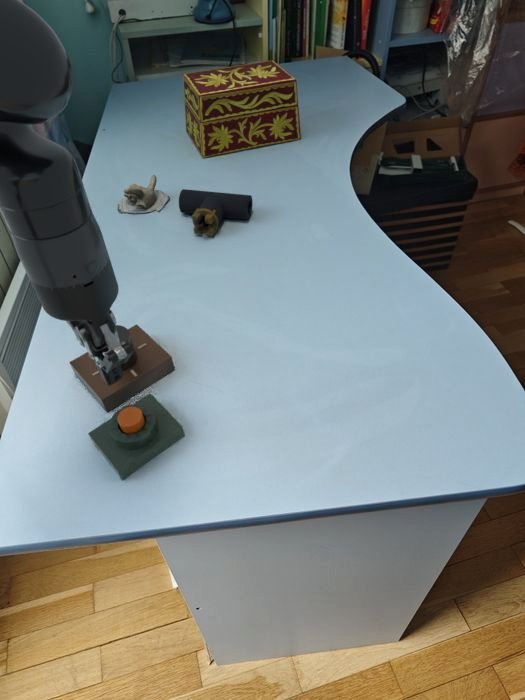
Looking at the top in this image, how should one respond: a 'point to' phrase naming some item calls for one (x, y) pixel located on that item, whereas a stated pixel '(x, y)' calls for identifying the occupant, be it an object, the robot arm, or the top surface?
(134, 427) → the button
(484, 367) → the top surface
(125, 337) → the dial knob
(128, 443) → the button box
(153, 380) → the dial base block
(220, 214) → the pipe connector
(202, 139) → the decorative box
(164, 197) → the tan irregular piece
